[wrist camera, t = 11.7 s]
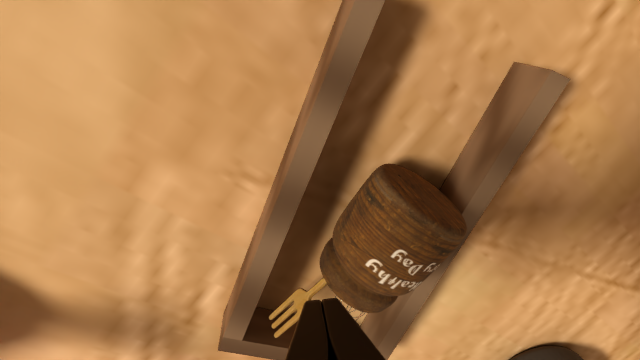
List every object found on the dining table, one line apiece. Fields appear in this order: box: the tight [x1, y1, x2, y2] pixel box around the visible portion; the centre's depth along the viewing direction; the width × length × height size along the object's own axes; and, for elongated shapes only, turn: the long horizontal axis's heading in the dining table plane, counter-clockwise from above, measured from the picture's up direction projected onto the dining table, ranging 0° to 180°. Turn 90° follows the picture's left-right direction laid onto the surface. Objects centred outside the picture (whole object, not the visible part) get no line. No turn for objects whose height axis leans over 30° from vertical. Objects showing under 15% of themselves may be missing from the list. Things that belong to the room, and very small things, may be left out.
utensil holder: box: [269, 164, 467, 338], centre depth 21 cm, size 6×6×12 cm
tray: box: [218, 0, 570, 360], centre depth 21 cm, size 22×11×3 cm, turn 158°
